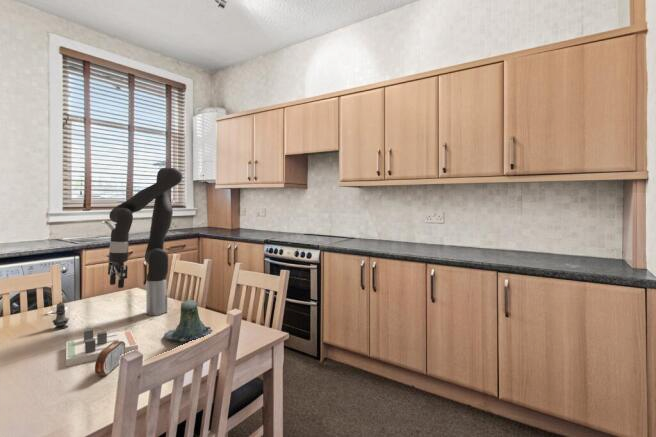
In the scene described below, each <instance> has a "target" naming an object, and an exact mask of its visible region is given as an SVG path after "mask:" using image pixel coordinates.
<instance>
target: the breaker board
mask: <svg viewBox="0 0 656 437" xmlns="http://www.w3.org/2000/svg"><path fill="white" fill-rule="evenodd" d="M93 338H95V351H93V352H88V353H85V342H84V338H79V339H74V340H69V341H66V342H65V343H66V344H65V346H66V347H65V348H66V349H65V353H66V354H65V355H66V357H65V361H66V362H65V364H66V366H65V367H71V366H75V365H79V364H84V363H88V362H94V361H96V360H97V357H98V355H99V354H100V352H101V351H102V350H103V349H104V348H106V347H107V346H109V345H110V344H111V343H113V342H114V341H123V342H124V343H125V353H127V352H129V351H132V350H138V351H139V344H138V342H137V340H136V338H135V336H134V334H133V332H132V329H129V330H125V331H119V332H114V333H107V343H104V344H99V345H98V344H97V335H96V336H93ZM127 354H128V353H127Z"/></svg>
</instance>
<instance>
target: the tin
mask: <svg viewBox="0 0 656 437" xmlns="http://www.w3.org/2000/svg"><path fill="white" fill-rule="evenodd" d="M122 354H124V355H126V354H125V343H124V342H123V341H114V342H113V343H111V344H110V345H109V346H107V347H106V348H104V349H103V350H102V351H101V352H100V354H99V355H98V357H97V360H95V363H94V364H95V365H94V373H95V376H107V375H109V374H110V373H112V371H114V370H115V369H116V368H117V367H118V366H119V365H120V364H119V360H120V356H121V355H122Z"/></svg>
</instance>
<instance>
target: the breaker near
mask: <svg viewBox="0 0 656 437" xmlns="http://www.w3.org/2000/svg"><path fill="white" fill-rule="evenodd" d="M93 351H95V338H93V339H88V340H85V353H88V352H93Z"/></svg>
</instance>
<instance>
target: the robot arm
mask: <svg viewBox="0 0 656 437" xmlns="http://www.w3.org/2000/svg"><path fill="white" fill-rule="evenodd" d="M182 180H183V174H182V172H181V170H179V169H178V168H176V167H162V168H160V169H159V170H158V171H157V174H156V182H155V183H153V184H152V185H149V186H147V187H145V188H143V189H141V190H140V191H138V192H137V193H135V194H133V196H131V197H130V198H129V199H128V200H126V201H124V202H122V203H120V204H118V205H117V206H115V207H114V208H112V209H111V210H110V212H109V215H108V216H109V217H108V218H109V219H110V221H112V222H114V223H115V224H116V225H115V228H113V229H111V232H110V244H109V250H108V251H109V252H108V266H107V275H109V285H110V286H113V285H114V286H115V285H116V279H117V278H118V280H117V288H118V289H123V288H125V285H124V284H125V280H126V279H128V267H129V266H128V265H127V264H126V265H125V262H128V260H129V235H130V234H129V233H130V230H131V228H132V224H133V219H134V215H133V214H134V213H137V212H140V211H141V210H143V209H144V208H146V206H148V205H149V204H150V203H151V202H153V201H154V204H153V210H152V215H151V224H150V230H149V239H148V242H147V246H146V250H145V254H144V260H145V263H147V264H148V272H147V274H146V284H145V285H146V290H145V293H146V301H145V302H146V306H145V307H146V309H145V310H146V311H145V313H147V314H146V315H148V316H159V315H158V314H160V315H163V314H165V313H164V312H167V313H168V293H167V278H168V273H169V255H168V253H167V251H166V250H165V249H164V242H165V238H166V236H167V234H168V232H169V230H170V227H171V224H172V221H173V211H174V210H173V206H172V202H171V198H170V191H171V189H172V188H174V187H176V186H177V185H179V184H180V183H181V182H182ZM162 313H163V314H162Z"/></svg>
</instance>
